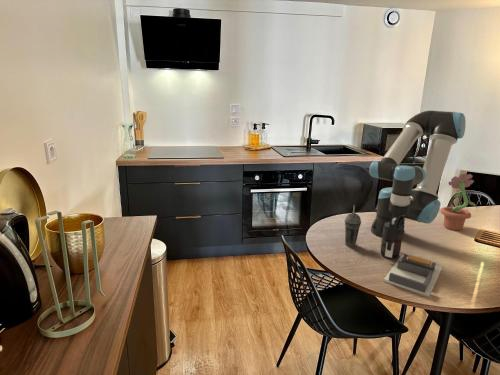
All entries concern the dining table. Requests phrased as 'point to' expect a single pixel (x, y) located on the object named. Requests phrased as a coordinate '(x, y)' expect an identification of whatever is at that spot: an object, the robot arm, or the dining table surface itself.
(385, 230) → the camera lens
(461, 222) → the decorative flower
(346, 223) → the beverage cup
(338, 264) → the dining table surface
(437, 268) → the board
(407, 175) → the robot arm
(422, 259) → the orange rectangular brick
